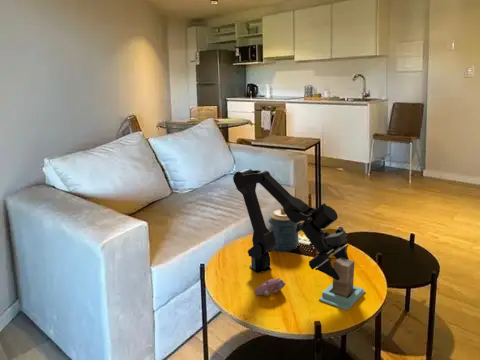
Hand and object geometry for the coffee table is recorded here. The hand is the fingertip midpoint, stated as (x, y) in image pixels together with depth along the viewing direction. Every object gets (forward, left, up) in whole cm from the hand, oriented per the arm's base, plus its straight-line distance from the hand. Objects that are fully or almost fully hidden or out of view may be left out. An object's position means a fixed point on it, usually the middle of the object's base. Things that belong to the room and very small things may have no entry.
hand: (344, 274), depth 137 cm
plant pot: (+17, +27, -9) cm, 33 cm away
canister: (+5, +44, -9) cm, 46 cm away
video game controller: (-20, +14, -9) cm, 26 cm away
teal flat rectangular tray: (0, 0, -8) cm, 8 cm away
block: (0, 0, -8) cm, 8 cm away
